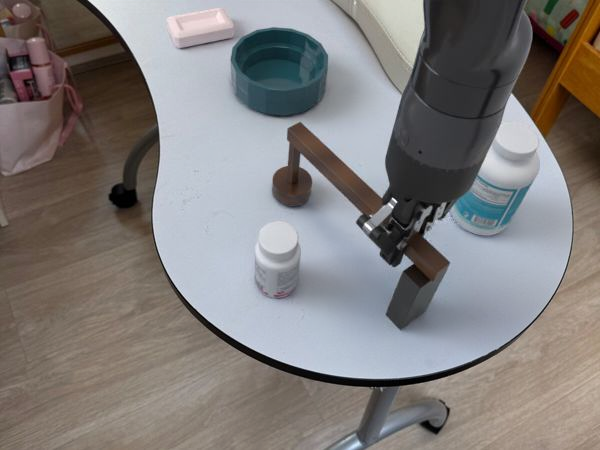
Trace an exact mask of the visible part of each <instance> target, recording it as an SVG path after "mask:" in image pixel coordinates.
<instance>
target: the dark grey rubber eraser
mask: <svg viewBox="0 0 600 450" xmlns="http://www.w3.org/2000/svg"><path fill="white" fill-rule="evenodd" d="M445 275H446V273H444V274H443V275H442V276H440V277H439V278H438V279H436V280H435V281H434V282H432V281H431V280H430V279H429V278H428V277H427V276H426V275H425V274H424V273H423V272H422V271H421V270H420V269H419V268H418V267H417V266H416V265H415V264H414V263H412V264H411V265H410V266H408V267H407V268H405V269H404V270H402V272H401V275H400V277H399V280H398V282H397V284H396V287H395V289H394V291H393V294H392V296H391V300H390V302H389V305H388V306H387V309H386V311H385V316H386V317H387V318H388V319H389V321H391V322H392V324H394V326H395V327H396V328H397V329H398V330H399V331H402V330H403V329H405V328H406V327H407V326H409V325H410V324H411V323H412V322H414V321H415V320H416V319H417V318H419V317H420V316H422V314H424V313H425V312H426V311H427V310H428V308H429V306H430V305H431V302H432V300H433V298H434V296H435V295H436V292H437V291H438V289H439V287H440V285H441V283H442V282H443V280H444V277H445Z"/></svg>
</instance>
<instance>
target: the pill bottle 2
mask: <svg viewBox="0 0 600 450" xmlns="http://www.w3.org/2000/svg"><path fill="white" fill-rule="evenodd" d="M539 145H540V139H539V135H538V134H537V132H536V131H535V130H533V128H531V127H530V126H528V125H526V124H524V123H521V122H519V121H506V122H501V124H500V127H499V129H498V132H497V134H496V136H495V138H494V140H493V142H492V145H491V147H490V149H489V151H488V153H487V155H486V158H485V160H484V162H483V164H482V166H481V168H480V170H479V173H478V175H477V177H476V179H475V181H474V183H473V185H472V187H471V188H470V190H469V191H468V192H467V193H466V194H465V195H463V196H462V197H460V198H459V199H458V200H457V201H456V203H455V204H454V205H453V207H452V208H451V209H450V212H451V215H452V218H453V219H454V221H455V222H456V223H457V224H458V225H459V226H460V227H461V228H463V230H466V231H467V232H470V233H471V234H475V235H479V236H493V235H496V234H498V233H501V232H503V231H504V230H505V229H506V228H507V227H508V226H509V224H510V222H511V220H512V219H513V217H514V216H515V214H516V212H517V210H518V209H519V207H520V205H521V204H522V203H523V200H524V198H525V196H526V195H527V193H528V191H529V190H530V189H531V187H532V185H533V183H534V181H535V180H536V178H537V176H538V174H539V172H540V169H541V159H540V156H539V154H538V151H537V150H538V147H539Z"/></svg>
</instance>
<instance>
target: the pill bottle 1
mask: <svg viewBox="0 0 600 450" xmlns="http://www.w3.org/2000/svg"><path fill="white" fill-rule="evenodd" d="M301 249H302V248H301V245H300V243H299V233H298V231H297V230H296V228H295V227H294V226H293V225H292V224H290V223H288V222H285V221H279V220H278V221H277V220H276V221H272V222H268V223H267V224H265V225H264V226H263V227H262V228H261V229H260V230H259V233H258V241H257V242H256V244H255V247H254V283H255V287H256V288H257V289H258V291H259V292H260V293H261V294H263V295H264V296H266V297H269V298H273V299H280V298H284V297H287V296H289V295H290V294H291V293H293V292H294V290H295V289H296V287H297V285H298V280H299V274H300V264H301V254H302V250H301Z"/></svg>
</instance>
